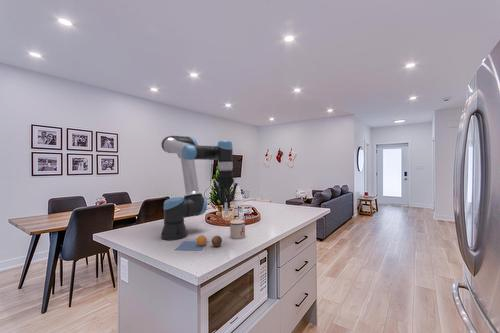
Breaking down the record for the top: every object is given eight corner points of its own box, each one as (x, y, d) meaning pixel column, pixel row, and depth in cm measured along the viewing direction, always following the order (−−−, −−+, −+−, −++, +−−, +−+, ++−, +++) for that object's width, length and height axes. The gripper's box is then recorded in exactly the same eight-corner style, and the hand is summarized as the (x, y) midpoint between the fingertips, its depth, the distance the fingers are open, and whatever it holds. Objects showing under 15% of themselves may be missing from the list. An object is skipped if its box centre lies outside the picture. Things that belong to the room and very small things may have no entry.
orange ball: (202, 249, 123) (193, 244, 123) (205, 245, 128) (196, 240, 129) (206, 240, 123) (197, 235, 123) (209, 237, 128) (201, 232, 129)
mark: (174, 250, 120) (174, 249, 120) (184, 241, 134) (184, 241, 134) (201, 250, 119) (201, 250, 119) (208, 241, 132) (208, 241, 132)
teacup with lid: (243, 239, 135) (243, 219, 135) (228, 238, 137) (227, 218, 137) (247, 233, 147) (247, 214, 147) (233, 233, 149) (233, 214, 149)
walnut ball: (223, 243, 122) (215, 250, 122) (225, 239, 127) (217, 246, 127) (215, 235, 122) (208, 242, 122) (217, 231, 127) (210, 238, 127)
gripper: (211, 170, 121) (212, 216, 121) (236, 169, 120) (237, 216, 120) (215, 170, 129) (216, 213, 129) (239, 169, 127) (239, 213, 127)
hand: (226, 214), depth 124 cm, fingers closed
